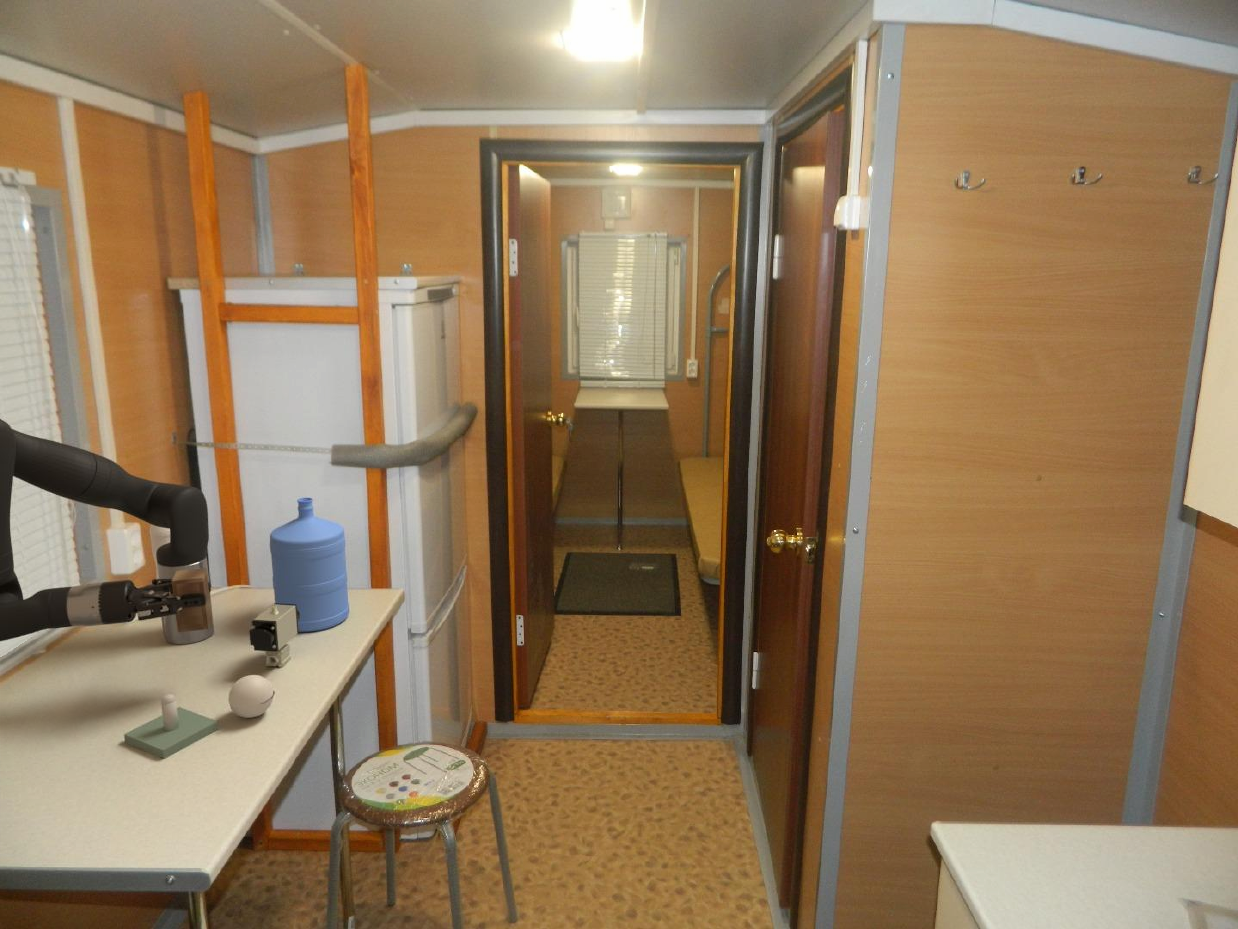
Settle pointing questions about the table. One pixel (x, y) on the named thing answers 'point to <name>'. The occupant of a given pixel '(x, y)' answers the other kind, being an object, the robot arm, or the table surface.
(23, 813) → the table surface
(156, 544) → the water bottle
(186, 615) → the brown wooden block
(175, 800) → the table surface
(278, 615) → the pneumatic valve
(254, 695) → the seamed sphere
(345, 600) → the water jug
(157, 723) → the stub base
